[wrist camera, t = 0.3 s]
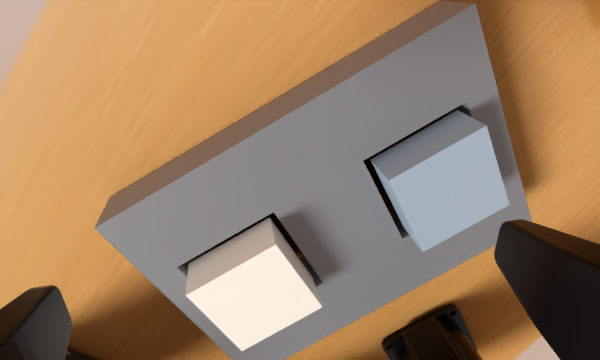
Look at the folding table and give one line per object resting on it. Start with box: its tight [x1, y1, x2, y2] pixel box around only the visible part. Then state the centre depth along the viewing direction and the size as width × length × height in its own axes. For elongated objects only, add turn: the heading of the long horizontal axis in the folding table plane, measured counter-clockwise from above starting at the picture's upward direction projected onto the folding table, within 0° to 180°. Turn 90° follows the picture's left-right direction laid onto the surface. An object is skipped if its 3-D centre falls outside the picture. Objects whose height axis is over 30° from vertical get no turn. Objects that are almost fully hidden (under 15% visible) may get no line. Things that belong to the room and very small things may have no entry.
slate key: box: [371, 110, 509, 252], centre depth 20 cm, size 5×5×2 cm
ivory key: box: [186, 217, 322, 351], centre depth 21 cm, size 5×5×2 cm
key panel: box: [95, 1, 532, 360], centre depth 22 cm, size 14×20×3 cm
